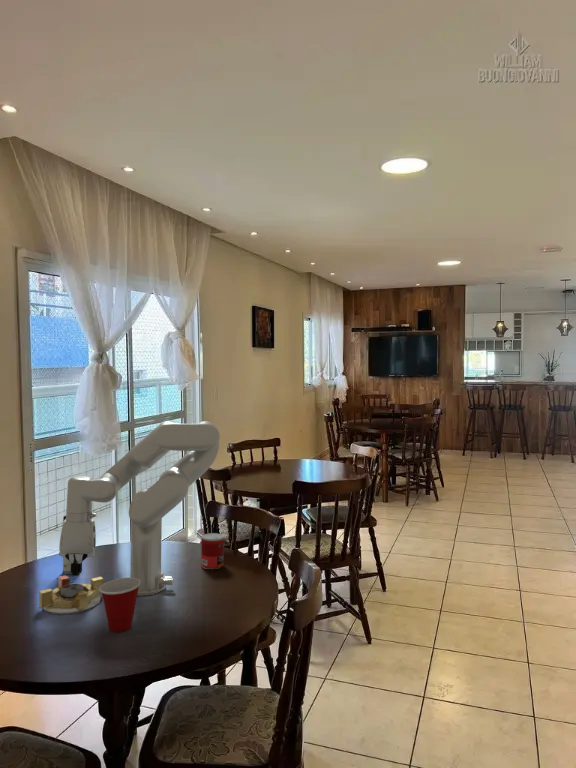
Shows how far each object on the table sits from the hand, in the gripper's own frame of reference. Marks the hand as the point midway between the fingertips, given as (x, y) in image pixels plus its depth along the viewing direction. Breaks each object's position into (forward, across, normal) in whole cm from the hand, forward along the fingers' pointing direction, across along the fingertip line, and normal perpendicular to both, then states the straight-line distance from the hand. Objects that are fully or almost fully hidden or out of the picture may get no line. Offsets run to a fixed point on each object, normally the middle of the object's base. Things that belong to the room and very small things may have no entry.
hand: (75, 574), depth 169 cm
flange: (+6, -1, +8) cm, 10 cm away
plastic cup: (+5, -19, +25) cm, 32 cm away
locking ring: (+4, -1, +8) cm, 9 cm away
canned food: (+4, -42, -21) cm, 47 cm away
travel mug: (+6, +6, -19) cm, 21 cm away
